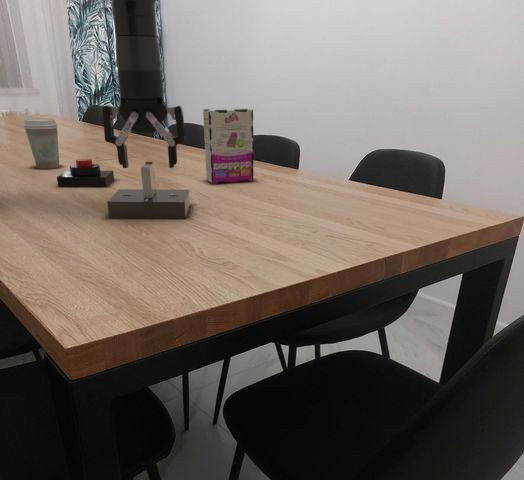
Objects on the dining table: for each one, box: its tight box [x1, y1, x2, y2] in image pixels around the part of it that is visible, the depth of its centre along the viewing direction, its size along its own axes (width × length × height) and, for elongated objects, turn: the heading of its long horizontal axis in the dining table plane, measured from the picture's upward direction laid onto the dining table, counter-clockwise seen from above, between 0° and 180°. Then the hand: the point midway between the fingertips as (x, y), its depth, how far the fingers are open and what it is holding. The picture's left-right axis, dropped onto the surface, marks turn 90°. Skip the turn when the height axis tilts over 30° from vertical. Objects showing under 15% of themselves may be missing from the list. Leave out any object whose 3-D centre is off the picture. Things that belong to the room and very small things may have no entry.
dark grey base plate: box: [106, 188, 191, 219], centre depth 97 cm, size 14×11×3 cm
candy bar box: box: [202, 107, 254, 185], centre depth 121 cm, size 11×5×16 cm, turn 114°
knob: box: [140, 160, 157, 198], centre depth 95 cm, size 6×2×6 cm, turn 3°
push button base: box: [56, 163, 115, 188], centre depth 119 cm, size 11×9×4 cm
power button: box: [75, 157, 94, 167], centre depth 118 cm, size 4×4×2 cm
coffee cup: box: [23, 117, 60, 170], centre depth 135 cm, size 9×8×12 cm
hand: (148, 167), depth 94 cm, fingers open, 8 cm apart
